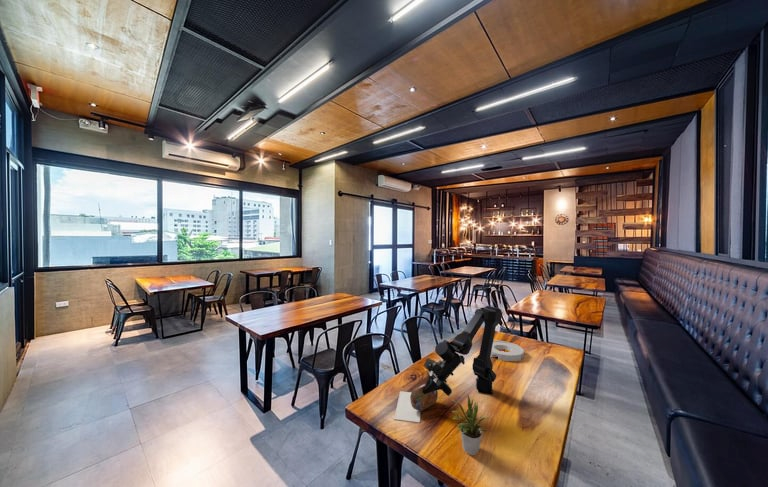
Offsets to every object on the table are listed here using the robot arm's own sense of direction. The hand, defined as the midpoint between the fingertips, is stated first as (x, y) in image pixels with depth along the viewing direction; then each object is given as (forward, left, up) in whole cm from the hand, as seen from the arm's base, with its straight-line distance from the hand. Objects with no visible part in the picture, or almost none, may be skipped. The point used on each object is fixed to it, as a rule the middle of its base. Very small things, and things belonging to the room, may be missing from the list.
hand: (423, 393), depth 117 cm
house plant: (-16, +18, -7) cm, 25 cm away
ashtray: (-47, -66, -7) cm, 81 cm away
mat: (+6, -1, -7) cm, 9 cm away
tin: (-1, -1, -6) cm, 7 cm away
